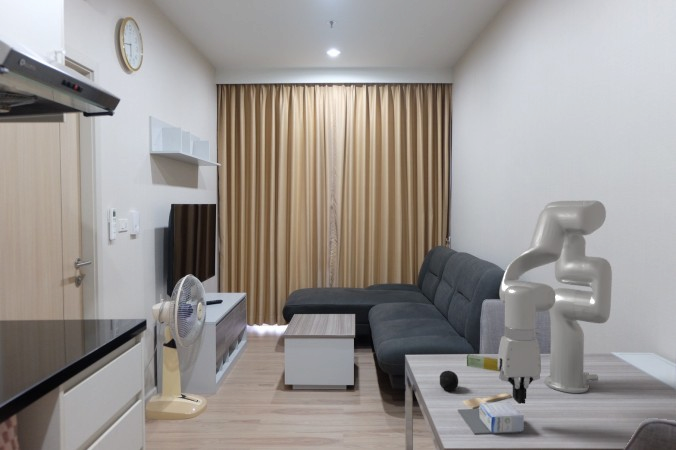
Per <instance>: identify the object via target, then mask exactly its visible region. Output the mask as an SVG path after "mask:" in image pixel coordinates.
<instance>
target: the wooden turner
mask: <svg viewBox="0 0 676 450" xmlns="http://www.w3.org/2000/svg"><path fill="white" fill-rule="evenodd" d="M511 397H512V395H511V394H510V393H508V392H504V393H500V394H495V395H492V396H488V397H483V398H480V397H475V398H471V399H467V400H466V399H465V400H462V404H464V405H465V406H466V407H469V409H480V403H493V402H495V401H496V402H498V401H500V400H505V399H509V398H511Z"/></svg>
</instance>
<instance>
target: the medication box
mask: <svg viewBox="0 0 676 450" xmlns="http://www.w3.org/2000/svg"><path fill="white" fill-rule="evenodd" d="M466 367H471V368H477V369H483V370H488V371H494V372H499V373H500V371H499V370H498V358H494V357H488V356H483V355H482V356H481V355H476V354H475V355H474V354H471V353H470V354H467V356H466Z"/></svg>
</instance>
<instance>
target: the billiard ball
mask: <svg viewBox="0 0 676 450" xmlns="http://www.w3.org/2000/svg"><path fill="white" fill-rule="evenodd" d="M438 381H439V385H440V387H441V388H442V389H444V390H445V391H447V392H452V391H454V390H456V389H457V388H458V385H459V377H458V375H457V374H456V373H455V372H454V371H452V370H444V371H442V372H441V373H440V375H439V378H438Z"/></svg>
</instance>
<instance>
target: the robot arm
mask: <svg viewBox="0 0 676 450" xmlns="http://www.w3.org/2000/svg"><path fill="white" fill-rule="evenodd" d="M606 217H607V210H606V207H605V205H604V204H603V202H601V201H598V200H559V201H557V200H556V201H552V202H548V203H547V204H546V205H545V206H544V208H543V209H542V210H541V211H540V213H539V215H538V218H537V222H536V224H535V228H534V231H533V234H532V238H531V239H530V245H529V247H528V248H526V249H525V250H523V252H521V253H520V254H518V255H517V256H516V257H515V258H514V259H513V260H512V261H510V263H509V264H508V265H507V266H506V268H505V270H504V273H503V276H502V279H501V282H500V286H499V300H500V301H501V302H502V304H503V305H504V335H502V336H501V337H500V343H499V347H498V353H497V359H498V370H499V371H500V372H499V371H498V372H499V375H498V378H499V380H501V381H502V382H506V383H507V382H509V384H510V385H511V386H512V397H513V399H514V401H515V402H516V403H518V404H526V399H527V389H528V388H529V387H530V385H531V383H532V382H533V381H538V380H541V372H542V360H541V358H542V357H541V351H540V344H539V341H538V339H537V334H541V330H540V328H537V327H536V313H540V312H547V311H548V313H549V319H550V363H549V364H550V368H549V369H550V370H549V371H550V373H549V374H550V375H547V376H546V377H545V379H544V383H545V385H547V386H548V387H550V388H551V389H554V390H556V391H560V392H563V393H569V394H570V393H572V394H583V393H587V392H588V391H589V389H590V387H589V386H590V385H589V384H588V382H590V381H598V380H599V376H598V374H590V373H589V372H588V371H587V372H586V371H585V372H584V364H585V362H584V357H585V354H584V349H585V346H584V345H585V344H584V343H585V336H584V331H583V329H582V327H581V325H580V324H579V322H578V321H581V322H587V323H590V324H591V323H593V324H605V323H606V322H608V320H609V319H610V315H611V304H612V286H613V285H612V283H613V272H612V266H611V264H610V261H608V259H606V258H604V257H601V256H599V257H598V256H587V255H586V244H587V243H586V239H585V237H584V236H588V235H589V236H590V235H591V234H592V233H594V232H596V231H597V230H599V229H600V228H601V227H602V226H603V224H604V223H605V221H606ZM553 263H554V277H555V279H556V281H557V282H559V283H560V284H564V285H570V286H579V287H588V288H591V289H592V290H591V291H589V290H582V289H575V288H555V289H554V288H553V286H551V285H549V284H545V283H540V282H532V281H526V280H525V281H524V280H519V279H521V277H522V276H524V274H526V273H527V272H529V271H531V270H534V269H536V268H540V267H542V266H545V265H549V264H553Z"/></svg>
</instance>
